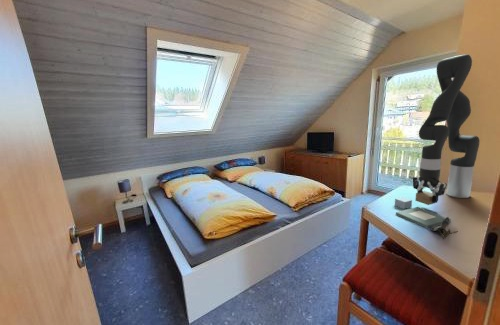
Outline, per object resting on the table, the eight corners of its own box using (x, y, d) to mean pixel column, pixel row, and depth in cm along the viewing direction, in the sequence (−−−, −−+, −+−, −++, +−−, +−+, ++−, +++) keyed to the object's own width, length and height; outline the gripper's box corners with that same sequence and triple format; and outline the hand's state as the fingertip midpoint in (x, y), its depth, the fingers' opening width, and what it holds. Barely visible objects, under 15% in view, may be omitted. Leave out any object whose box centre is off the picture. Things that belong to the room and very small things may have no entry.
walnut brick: (424, 198, 110) (424, 190, 109) (437, 202, 104) (438, 194, 103) (415, 200, 108) (416, 193, 107) (428, 205, 102) (429, 197, 101)
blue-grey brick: (401, 204, 114) (402, 197, 113) (411, 207, 109) (412, 200, 108) (394, 205, 112) (395, 198, 111) (404, 209, 107) (404, 202, 107)
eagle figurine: (464, 239, 79) (453, 224, 86) (453, 224, 78) (444, 210, 86) (439, 245, 83) (432, 230, 90) (429, 231, 82) (422, 217, 90)
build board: (417, 209, 107) (417, 206, 106) (450, 221, 93) (450, 218, 93) (395, 214, 103) (396, 212, 102) (427, 228, 90) (427, 225, 89)
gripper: (453, 169, 97) (449, 203, 100) (420, 163, 110) (417, 193, 114) (441, 171, 95) (437, 207, 98) (409, 165, 108) (406, 196, 112)
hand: (426, 199), depth 106 cm, fingers closed on walnut brick, 6 cm apart
